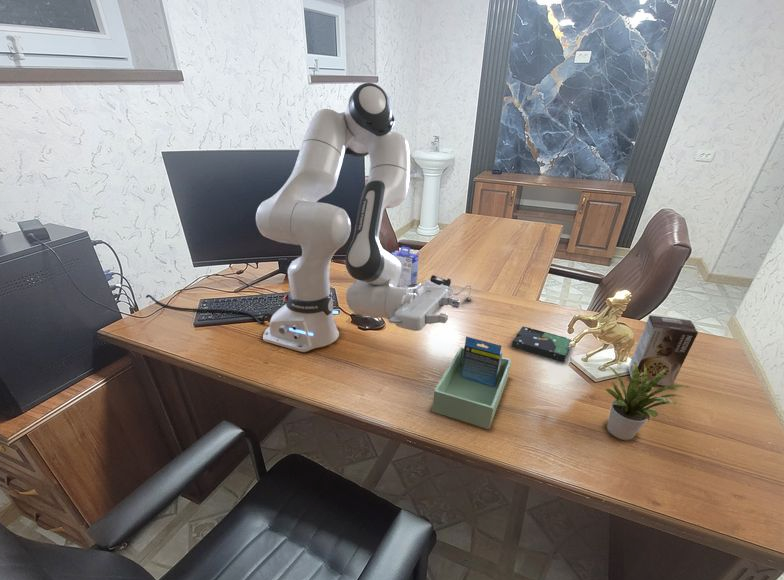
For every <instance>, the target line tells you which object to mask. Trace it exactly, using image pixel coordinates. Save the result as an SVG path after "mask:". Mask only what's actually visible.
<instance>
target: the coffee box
mask: <svg viewBox="0 0 784 580" xmlns="http://www.w3.org/2000/svg"><path fill="white" fill-rule="evenodd" d="M698 334H699V332H698V330H697V328H696V326H695V325H694V322H692V320H690V319H683V318H675V317H667V316H660V315H653V314H652V315H651V314H650V315H649V316H648V318H647V321H646V323H645V326H644V328H643V331H642V333H641V336H640V337H639V340H638V341H637V342H638V343H637V344H636V347H635V349H634V353H633V355H632V357H631V360H630V362H629V364H628V367H627V368H628V372H629V375H630V378H631V377H632V371H633V365H634V362H636V364H637V366H638V370H639V373H640V374H641V372H642V373H643V372H644V363H645V366H646V369H647V374H648V377H647V382H649V381H650V382H651V381H652V380H653V379H654V377H655V376H656V375H657V374H658V373H659V372H661V371H662V370H664V369H665V368H666V371H665V372H664V374H663V376H662V378H661V380H660V381H659V382H658V383H657V384H656V385H655V386H661V387H664V386H669V385H674V383H675V380H676V379H677V376H678V375H679V372H680V371H681V369H682V366H683V364H684V363H685V360H686V358H687V356H688V355H689V352H690V350H691V348H692V346H693V345H694V342H695V341H696V339H697V336H698ZM629 365H630V366H629ZM640 370H641V371H640ZM642 376H643V377H644V374H642ZM642 376H640V379H639V383H641V379H642Z"/></svg>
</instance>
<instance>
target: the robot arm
mask: <svg viewBox="0 0 784 580" xmlns="http://www.w3.org/2000/svg"><path fill="white" fill-rule="evenodd" d="M395 122H396V120H395V116H394V113H393V111H392V106H391V102H390V99H389V97H388V95H387V93H386V91H385V90H384V89H383V88H382V87H381V86H379V85H378V84H376V83H373V82H365V83H362V84H359V85H358V86H357V87H356V88H355V89H354V90H353V92H352V93H351V95H350V96H349V99H348V103H347V106H346V108H345V111H343V112H337V111H335V110H333V109H330V108H321V109H318V111H316V112H315V113H314V114H313V116H312V118H311V120H310V122H309V123H308V125H307V128H306V130H305V132H304V135H303V138H302V142H301V145H300V149H299V152H298V155H297V158H296V161H295V165H294V166H293V169H292V171H291V174H290V175H289V177H288V179H287V180H286V181H285V183H284V184H283V186H281V188H280V189H279V190H278V191H276V193H274V194H273V195H272V196H271V197H269V198H267V199H265V200H263V201H262V202H261V203H260V204H259V206H258V207H257V210H256V212H255V225H256V228H257V229H258V231H259V233H260V234H261V235H262V236H263V237H264V238H267V239H269V240H271V241H274V242H277V243H281V244H282V243H283V244H288V245H294V246H295V245H296V246H300V248H301V256H299V257H297V258H295V259H294V260H292V261H291V262H290V264H289V266H288V268H287V278H288V285H289V291H288V292H287V293H285V295H284V296H283V298H282V300H283V301H282V303H285V302H286V303H285V304H283V306H281V307H280V306H274V307H273V308H272V309H270V310H269V311H267V312H266V313H264V314H263V315H262V317H261V320H259V318H258V317H257V316H256V315H255V314H253V313H251V312H248V311H243V310H235V309H226V308H225V309H223V308H222V309H221V308H192V307H179V306H173V305H169V304H166V303H163V302H161V301H158V300H156V298H155V297H153V296H152V295H151V294H147V295H146V296H145V298H146V299H148V298H150V299H151V300H152V301H153V302H154V303H156V304H159V305H160V306H162V307H165V308H170V309H174V310H181V311H192V312H193V311H195V312H223V313H224V312H225V313H237V314H245V315H248V316H251V317H253V318H254V320H256V321H257V322H258V323H259V324H261V325H263V324H264V323H265V318H266V320H267V322H268V323H269V326H268V327H267V328H266V329H265V330H264V332H263V333H262V340H263V342H266V343H269V344H272V345H276V346H279V347H283V348H287V349H290V350H293V351H296V352H299V353H306V352H310V351H311V350H315V349H318V348H324V347H326V346H329V345H331V344H333V343H334V342H336V341H337V339H338V338H339V337H340V331H339V329H338V327H337V324H336V320H335V316H334V315H339V310H334V299H333V293H332V290H331V286H330V285H331V283H330V266H331V262H332V259H333V257H334V255H335V253H336V252H337V251H338V250H339V249H340V248H342V247H343V246H345V244H346V243H347V242H348V239H349V238H350V235H351V232H352V223H351V219H350V217H349V214H348V213H347V211H346V210H345V209H344V208H342V207H339V206H336V205H334V204H330V203H327V202H321V201H319V200H321V199H322V198H325V197H327V196H328V195H330V194H331V193H333V191H334V190H335V188H336V187H337V184H338V181H339V180H338V179H339V176H340V172H341V169H342V165H343V161H344V158H345V155H349V156H351V157H354V158H364V157H366V156H369V163H370V164H369V170H368V172H369V173H368V179H367V183H366V184H365V186H364V188H363V190H362V192H361V197H360V200H359V205H358V210H357V217H356V221H355V226H354V231H353V236H352V239H351V241H350V244H349V246H348V248H347V251H346V253H345V259H344V260H345V261H344V262H345V269H346V271H347V273H348V274H349V275H350V277H352V278H353V279H355V281H354V283H352V284H351V285H349V286H348V288H347V290H346V294H345V295H346V296H345V297H346V298H345V299H346V303H347V306H348V308H349V309H350V310H351V311H352V312H353V313H355V314H356V315H359V316H363V317H367V318H372V319H373V318H374V319H379V318H380V319H381V318H383V319H386V320H387V321H388V322H389V323H390V324H394V325H395V326H396V327H398V328H400V329H404V330H409V331H413V332H418V331H422V330H423V329H424V327H426V326H427V325H432V324H439V323H441V324H445V323H447V322H448V320H449V316H448V313H439V312H440V311H441V310H442V308H444V306H451V308H455V309H459V307H461V305H462V304H461V303H462V302H461V299H458V298H454V297H452V296H449V295H448V290H447V289H445V288H442V287H435V286H423V285H422V283H419V282H417V283H413V284H411V285H408V286H402V287H399V286H398V284H399V281H400V278H401V274H402V266H401V263H400V261H399V260H398V259H397V258H396V257H395V256H393V255H392V254H391V253H390V251H388V250H386V249H385V248H383V247H382V245H381V243H380V232H381V227H382V221H383V216H384V211H385V209H392V208H395V207H398V206H400V205H401V204H402V203H403V202H404V201H405V200H406V198H407V196H408V191H409V187H410V185H409V184H410V174H411V173H410V172H411V159H410V147H409V143H408V141H407V139H406V137H405V136H404V135H402V134H401V133H399V132H395V131H394V130H393V128H394V127H395ZM318 201H319V202H318ZM438 313H439V314H438Z"/></svg>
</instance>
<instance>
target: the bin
mask: <svg viewBox="0 0 784 580" xmlns="http://www.w3.org/2000/svg"><path fill="white" fill-rule="evenodd" d="M463 355H464V347H463V346H460V347H459V349H458V350H457V352H456V353H455V355H454V357H453V358H452V361H451V362H450V364H449V365H448V367H447V369H446V370H445V372H444V374H443V375H442V377H441V378H440V380H439V382H438V384H437V385H436V386H435V389H434V390H433V399H432V409H431V410H432V412H433V413H436V414H439V415H442V416H445V417H449V418H451V419H455V420H458V421H461V422H464V423H466V424H467V423H468V424H470V425H474V426H477V427H480V428H483V429H487V430H490V428H491V425H492V422H493V419H494V417H495V414H496V412H497V410H498V407H499V404H500V401H501V398H502V395H503V392H504V390H505V388H506V384H507V381H508V380H509V379H508V378H509V374H510V371H511V370H510V369H511V365H512V359H510V358H506V357H504V356H502V360H501V365H500V370H499V375H498V379H497V382H496V384H495V387H492V386H489V385H485V384H482V383H479V382H476V381H472V380H469V379H465V378H462V377H461V370H462V363H463Z"/></svg>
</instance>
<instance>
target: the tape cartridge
mask: <svg viewBox="0 0 784 580" xmlns="http://www.w3.org/2000/svg"><path fill="white" fill-rule="evenodd" d="M480 345H481V346H480ZM482 345H484V346H485V347H484V346H482ZM502 347H503V346H502V345H501V344H496V343H493V342H489V341H485V340H481V339H478V338H474V337H470V336H465V342H464V346H463V348H464V355H463V363H462V370H461V377H462V378H465V379H469V380H472V381H476V382H479V383H482V384H485V385H489V386H492V387H495V384H496V382H497V379H498V375H499V370H500V365H501V360H502V357H503V353H504V352H502Z"/></svg>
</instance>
